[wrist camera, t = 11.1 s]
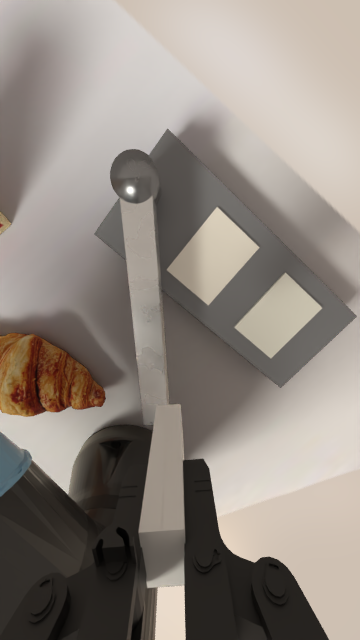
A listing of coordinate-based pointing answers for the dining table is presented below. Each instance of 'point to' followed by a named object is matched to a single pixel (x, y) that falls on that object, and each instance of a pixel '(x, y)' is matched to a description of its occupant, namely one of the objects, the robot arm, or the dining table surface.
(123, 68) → the dining table surface
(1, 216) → the milk carton
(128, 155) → the swing arm
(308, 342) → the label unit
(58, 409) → the croissant
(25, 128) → the dining table surface
